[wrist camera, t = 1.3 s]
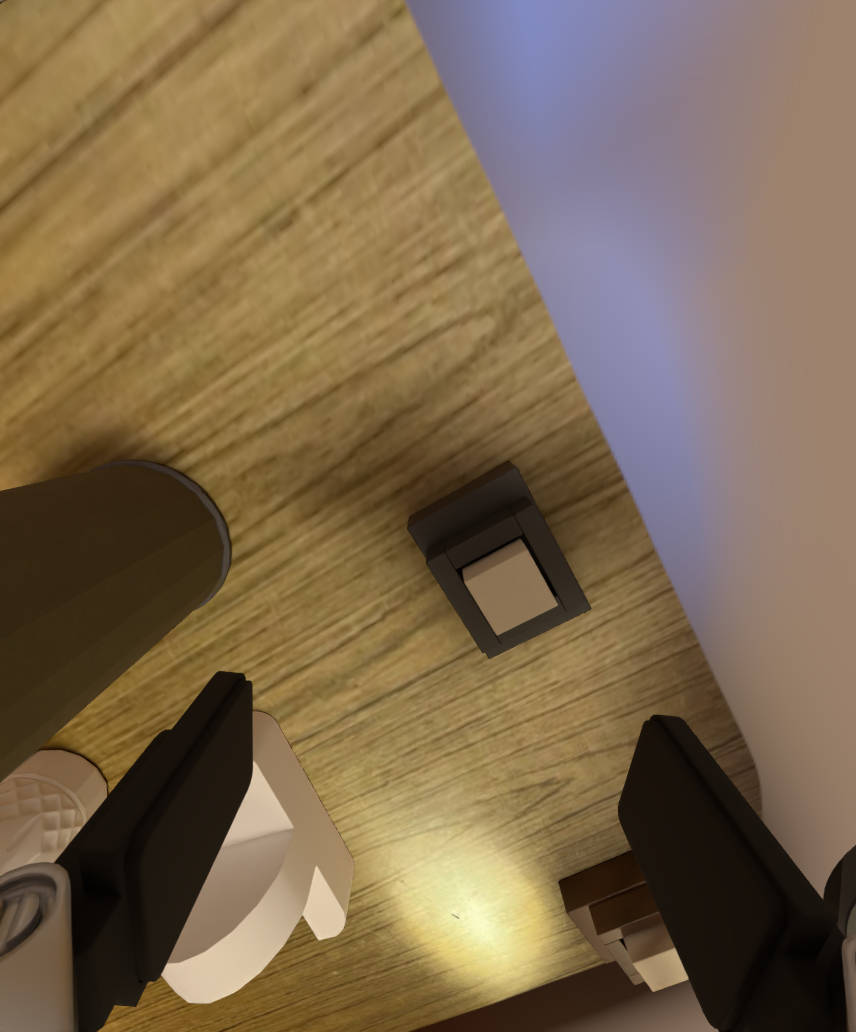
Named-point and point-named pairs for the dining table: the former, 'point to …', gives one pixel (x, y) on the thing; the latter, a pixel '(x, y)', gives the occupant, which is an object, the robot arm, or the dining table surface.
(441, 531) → the near block
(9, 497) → the canister
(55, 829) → the white cup
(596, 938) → the far block
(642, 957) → the far key
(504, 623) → the near key
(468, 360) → the dining table surface
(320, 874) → the slotted bracket
